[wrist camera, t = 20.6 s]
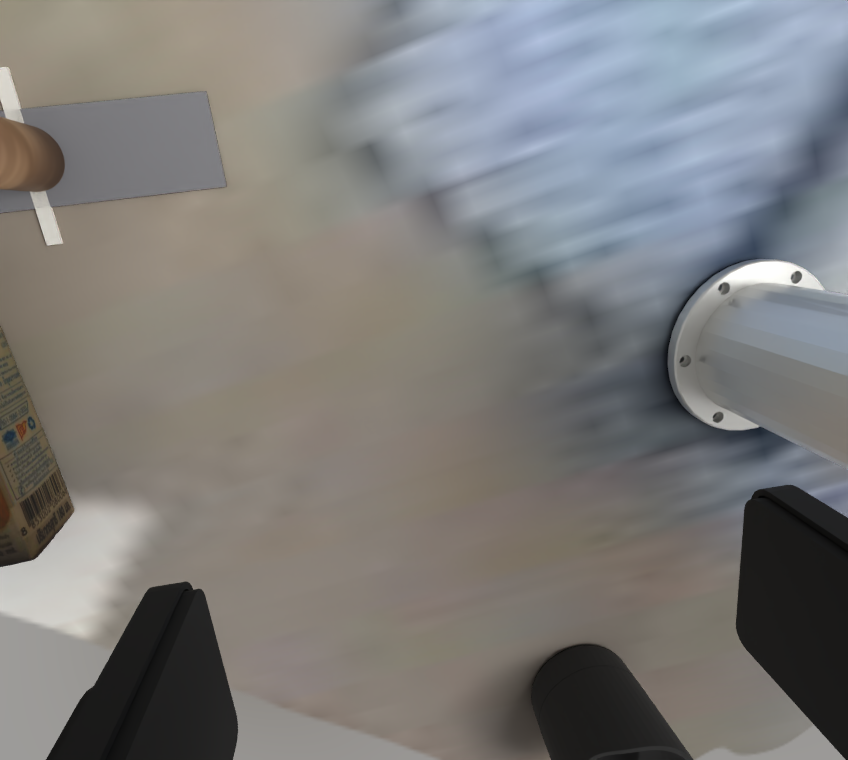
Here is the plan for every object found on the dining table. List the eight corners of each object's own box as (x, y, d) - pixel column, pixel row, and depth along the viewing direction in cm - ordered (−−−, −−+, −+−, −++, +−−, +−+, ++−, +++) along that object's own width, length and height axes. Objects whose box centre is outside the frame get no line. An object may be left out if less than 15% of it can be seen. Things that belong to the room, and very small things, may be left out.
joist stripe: (197, 51, 30) (196, 50, 30) (234, 222, 33) (233, 222, 33) (-126, 79, 28) (-129, 78, 28) (-58, 258, 31) (-61, 258, 31)
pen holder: (520, 652, 46) (570, 766, 36) (627, 627, 47) (702, 731, 37) (528, 737, 49) (576, 863, 39) (629, 712, 50) (699, 829, 40)
